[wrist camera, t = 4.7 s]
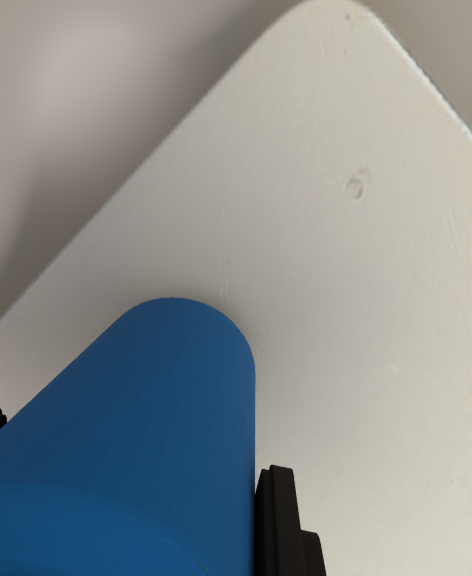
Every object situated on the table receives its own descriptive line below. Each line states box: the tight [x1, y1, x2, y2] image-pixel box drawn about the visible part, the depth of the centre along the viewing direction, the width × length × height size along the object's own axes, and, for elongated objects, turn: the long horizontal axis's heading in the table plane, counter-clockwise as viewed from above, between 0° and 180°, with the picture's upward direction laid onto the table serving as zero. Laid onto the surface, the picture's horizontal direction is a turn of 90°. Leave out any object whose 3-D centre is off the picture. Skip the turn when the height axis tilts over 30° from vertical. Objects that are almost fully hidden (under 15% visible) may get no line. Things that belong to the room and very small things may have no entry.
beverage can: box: [0, 297, 255, 576], centre depth 11 cm, size 6×6×12 cm
